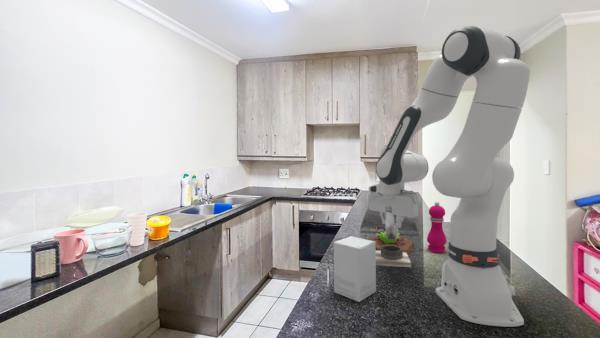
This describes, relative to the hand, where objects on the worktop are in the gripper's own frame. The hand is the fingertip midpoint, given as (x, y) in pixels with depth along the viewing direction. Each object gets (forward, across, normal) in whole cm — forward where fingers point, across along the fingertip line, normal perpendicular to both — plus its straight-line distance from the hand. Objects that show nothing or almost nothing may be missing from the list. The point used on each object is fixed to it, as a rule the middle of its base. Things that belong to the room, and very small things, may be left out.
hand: (391, 225), depth 112 cm
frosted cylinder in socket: (+4, 0, 0) cm, 4 cm away
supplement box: (+13, -10, +29) cm, 34 cm away
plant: (+14, +11, -12) cm, 21 cm away
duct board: (+13, 0, 0) cm, 13 cm away
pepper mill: (+13, -4, -23) cm, 27 cm away
